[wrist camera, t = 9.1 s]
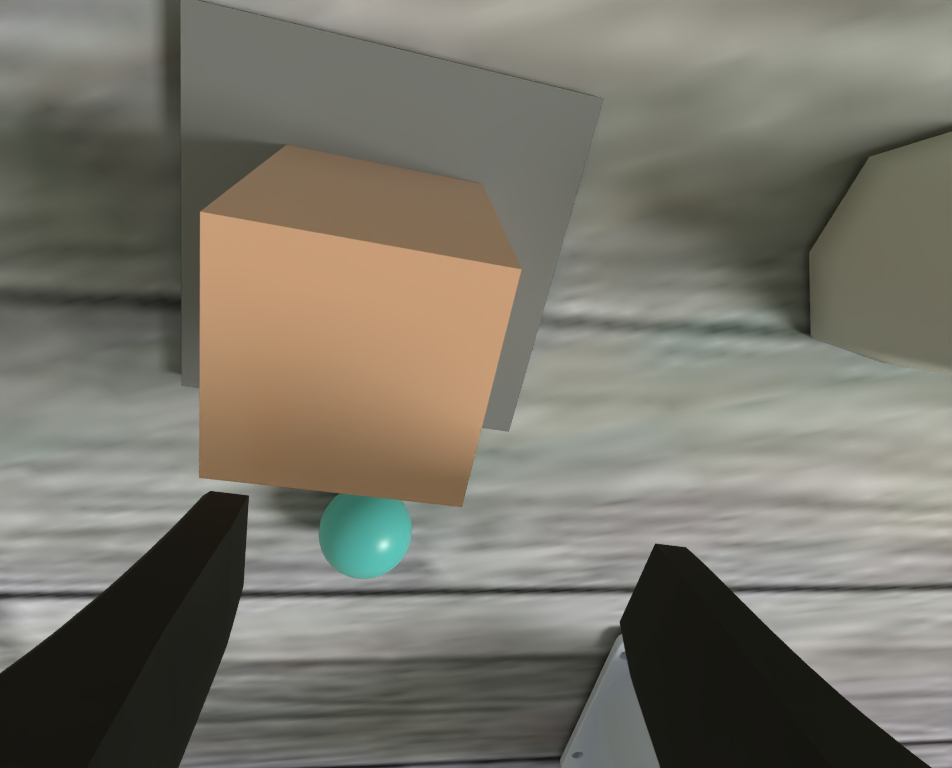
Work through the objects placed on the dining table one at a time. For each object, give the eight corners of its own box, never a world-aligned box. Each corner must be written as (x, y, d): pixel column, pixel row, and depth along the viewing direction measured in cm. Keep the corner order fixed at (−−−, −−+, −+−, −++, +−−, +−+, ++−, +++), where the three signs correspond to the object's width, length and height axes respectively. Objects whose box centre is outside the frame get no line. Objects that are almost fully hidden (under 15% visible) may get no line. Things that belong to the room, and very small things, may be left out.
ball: (404, 538, 23) (403, 603, 20) (321, 529, 22) (308, 594, 20) (418, 472, 21) (419, 532, 19) (329, 461, 21) (317, 521, 18)
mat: (506, 421, 21) (508, 431, 20) (188, 375, 19) (181, 385, 18) (597, 96, 16) (603, 98, 16) (188, -3, 14) (180, -4, 14)
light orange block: (447, 353, 19) (461, 507, 12) (274, 327, 18) (199, 477, 12) (482, 184, 16) (521, 269, 10) (286, 144, 15) (200, 211, 9)
